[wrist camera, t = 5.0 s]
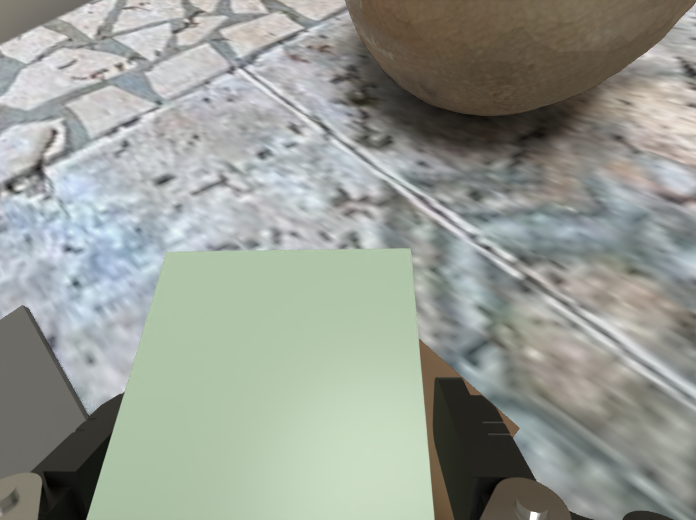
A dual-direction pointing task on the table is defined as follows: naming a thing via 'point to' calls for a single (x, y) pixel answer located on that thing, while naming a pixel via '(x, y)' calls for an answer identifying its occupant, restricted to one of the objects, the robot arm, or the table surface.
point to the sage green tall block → (274, 393)
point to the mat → (32, 396)
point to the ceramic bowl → (508, 47)
